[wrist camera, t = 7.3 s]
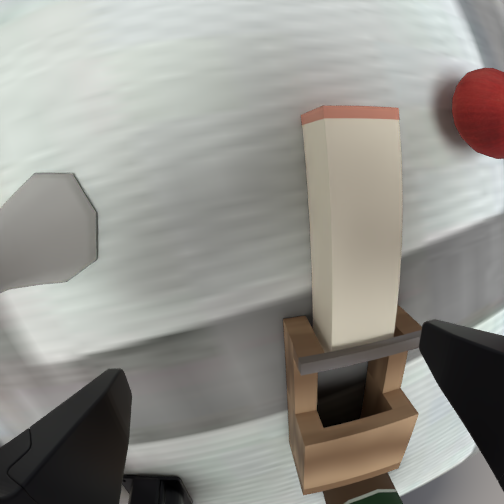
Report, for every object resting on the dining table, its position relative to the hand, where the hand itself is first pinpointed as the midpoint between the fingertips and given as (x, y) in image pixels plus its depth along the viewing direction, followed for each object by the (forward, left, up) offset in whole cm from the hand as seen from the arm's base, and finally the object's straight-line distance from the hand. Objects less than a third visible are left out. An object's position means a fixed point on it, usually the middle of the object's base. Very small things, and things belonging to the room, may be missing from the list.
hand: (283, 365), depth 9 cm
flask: (+3, +12, -12) cm, 17 cm away
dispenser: (-11, -6, -11) cm, 17 cm away
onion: (+8, -16, -11) cm, 21 cm away
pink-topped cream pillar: (0, -6, -11) cm, 13 cm away
